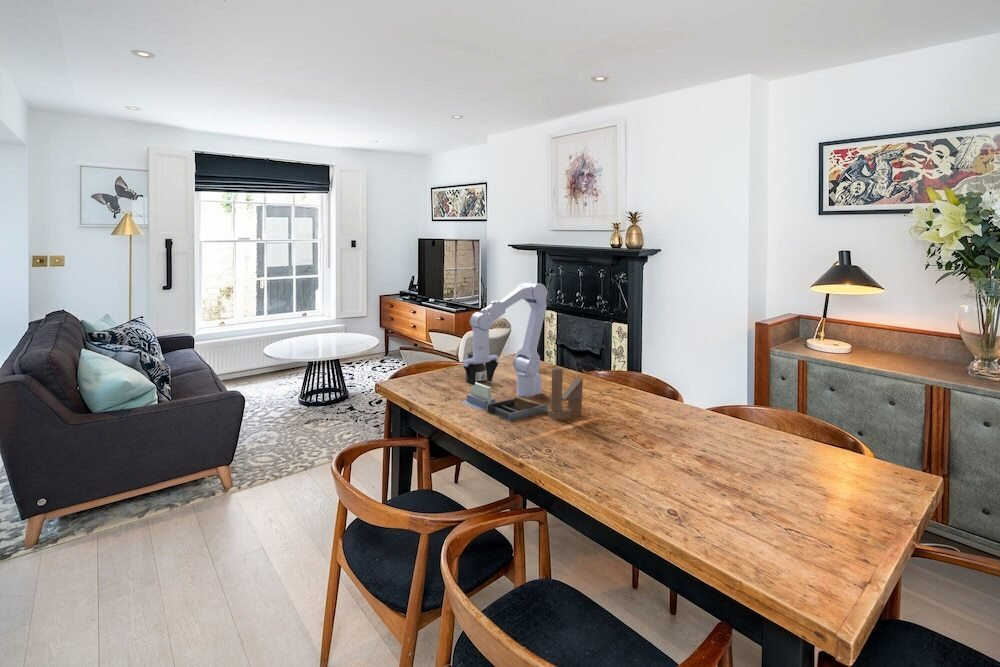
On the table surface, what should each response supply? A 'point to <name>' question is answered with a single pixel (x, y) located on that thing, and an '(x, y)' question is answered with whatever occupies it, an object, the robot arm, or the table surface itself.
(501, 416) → the slotted rack
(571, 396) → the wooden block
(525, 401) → the offcut stack
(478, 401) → the sheet stand
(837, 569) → the table surface
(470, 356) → the ink bottle
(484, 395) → the pale green slab
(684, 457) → the table surface
